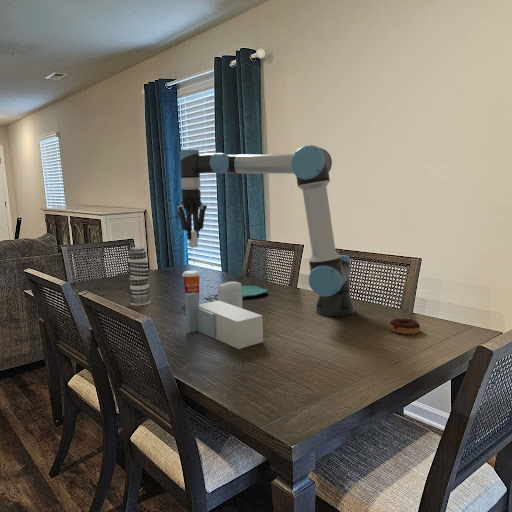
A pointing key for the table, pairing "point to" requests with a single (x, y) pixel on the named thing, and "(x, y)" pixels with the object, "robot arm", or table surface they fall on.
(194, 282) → the paper cup
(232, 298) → the grey gravestone
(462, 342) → the table surface
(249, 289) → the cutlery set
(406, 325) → the donut
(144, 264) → the decorative candle
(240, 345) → the white rectangular block
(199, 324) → the side door
